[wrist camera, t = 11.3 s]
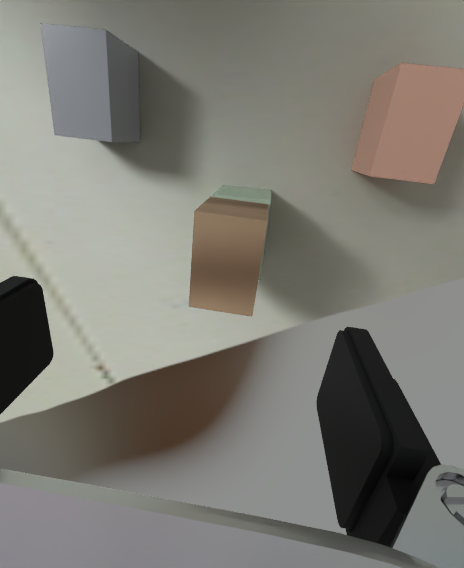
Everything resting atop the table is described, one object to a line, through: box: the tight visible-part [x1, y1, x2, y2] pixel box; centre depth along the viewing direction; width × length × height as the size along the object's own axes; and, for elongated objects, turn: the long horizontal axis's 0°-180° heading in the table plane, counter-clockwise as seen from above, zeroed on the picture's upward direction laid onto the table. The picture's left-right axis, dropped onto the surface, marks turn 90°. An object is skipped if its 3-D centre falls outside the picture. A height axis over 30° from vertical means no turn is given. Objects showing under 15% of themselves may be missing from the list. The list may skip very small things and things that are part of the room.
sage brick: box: [213, 185, 271, 280], centre depth 25 cm, size 6×4×5 cm, turn 175°
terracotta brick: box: [351, 63, 464, 184], centre depth 20 cm, size 6×4×5 cm, turn 174°
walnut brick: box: [189, 197, 268, 316], centre depth 20 cm, size 6×4×5 cm, turn 174°
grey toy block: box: [40, 23, 140, 142], centre depth 22 cm, size 6×4×5 cm, turn 174°
